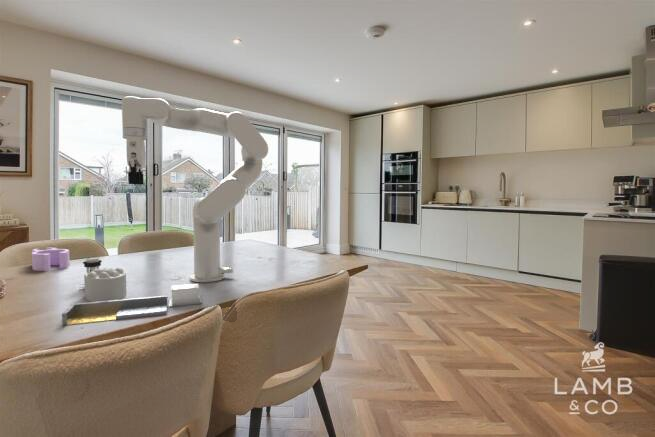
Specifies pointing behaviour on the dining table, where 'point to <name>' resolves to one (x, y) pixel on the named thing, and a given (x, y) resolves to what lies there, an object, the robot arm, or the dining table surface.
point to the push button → (91, 265)
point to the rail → (114, 310)
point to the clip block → (185, 294)
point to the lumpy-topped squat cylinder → (105, 284)
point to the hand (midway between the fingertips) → (136, 184)
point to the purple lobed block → (50, 258)
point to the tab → (185, 303)
